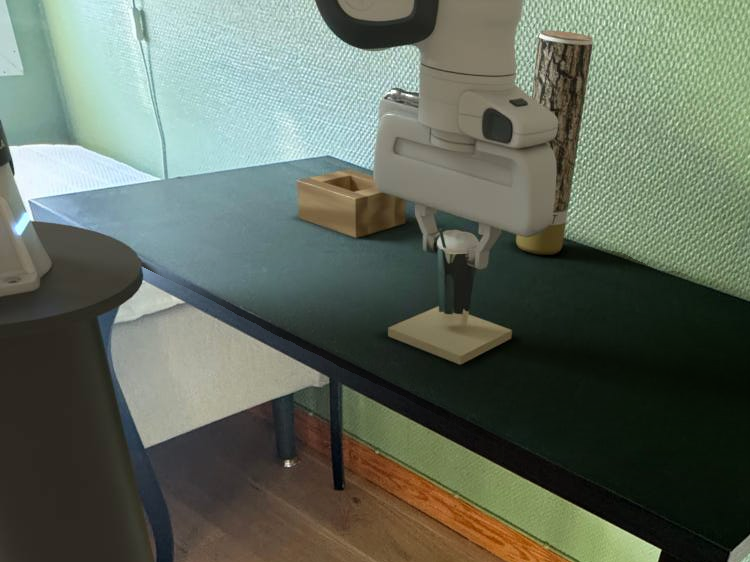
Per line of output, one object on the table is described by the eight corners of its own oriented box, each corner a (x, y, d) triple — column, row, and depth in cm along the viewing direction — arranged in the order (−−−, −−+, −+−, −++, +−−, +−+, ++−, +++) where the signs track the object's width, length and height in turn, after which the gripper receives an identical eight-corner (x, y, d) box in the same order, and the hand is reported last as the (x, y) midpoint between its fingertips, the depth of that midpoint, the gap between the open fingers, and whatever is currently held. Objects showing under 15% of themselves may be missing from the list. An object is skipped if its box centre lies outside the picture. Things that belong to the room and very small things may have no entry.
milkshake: (419, 320, 88) (423, 222, 82) (451, 309, 92) (457, 214, 85) (450, 333, 86) (456, 234, 80) (481, 321, 90) (490, 225, 83)
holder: (356, 238, 112) (355, 199, 109) (298, 218, 116) (296, 180, 113) (405, 223, 119) (406, 186, 116) (349, 205, 123) (349, 168, 120)
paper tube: (526, 237, 119) (551, 29, 102) (568, 248, 117) (601, 37, 100) (507, 249, 115) (530, 32, 98) (551, 260, 113) (582, 41, 96)
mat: (460, 365, 85) (460, 355, 84) (387, 336, 89) (387, 327, 88) (511, 338, 92) (512, 330, 91) (441, 312, 95) (442, 304, 94)
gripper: (359, 86, 77) (360, 239, 86) (538, 131, 69) (518, 293, 79) (400, 81, 81) (397, 228, 90) (574, 123, 73) (551, 278, 83)
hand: (455, 259), depth 84 cm, fingers closed on milkshake, 4 cm apart
